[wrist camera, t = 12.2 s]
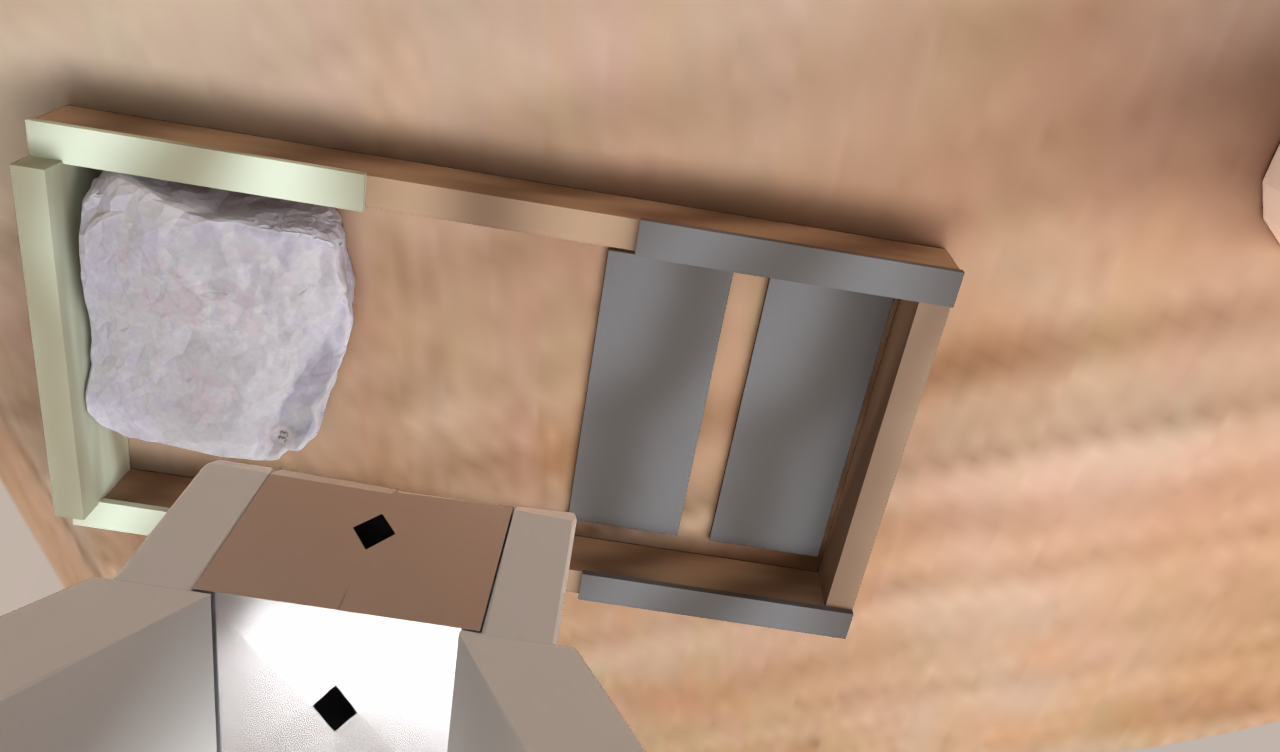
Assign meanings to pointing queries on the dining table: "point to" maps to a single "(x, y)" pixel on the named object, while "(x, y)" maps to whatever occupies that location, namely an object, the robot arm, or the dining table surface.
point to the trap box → (620, 371)
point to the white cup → (1272, 196)
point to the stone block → (212, 314)
